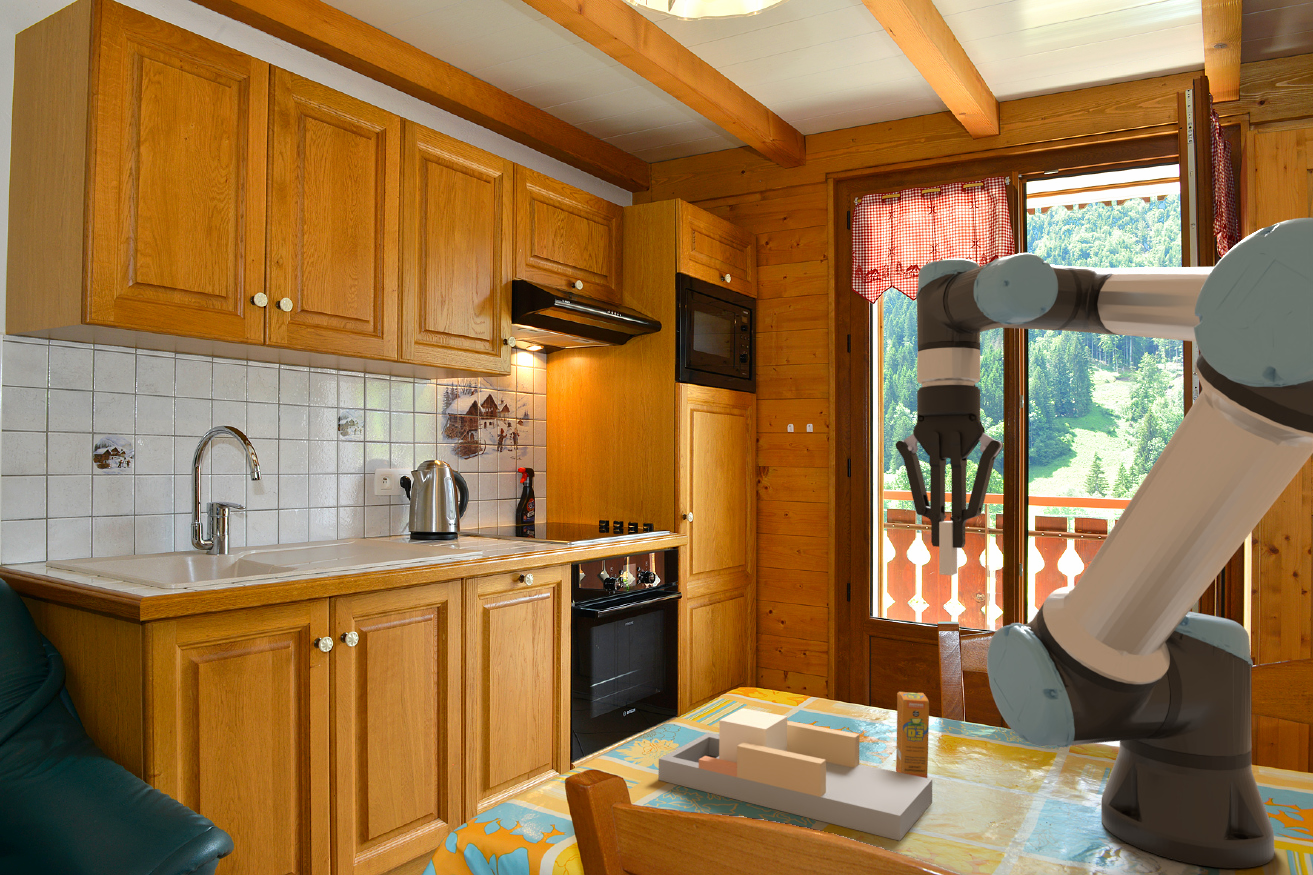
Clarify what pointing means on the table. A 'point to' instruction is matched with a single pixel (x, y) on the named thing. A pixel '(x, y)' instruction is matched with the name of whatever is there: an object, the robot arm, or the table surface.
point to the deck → (805, 780)
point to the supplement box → (912, 734)
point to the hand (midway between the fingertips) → (948, 573)
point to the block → (751, 732)
